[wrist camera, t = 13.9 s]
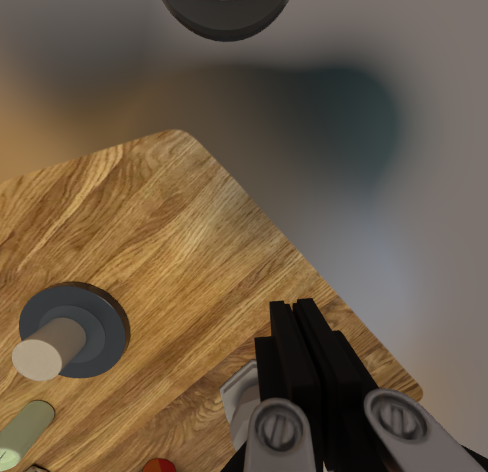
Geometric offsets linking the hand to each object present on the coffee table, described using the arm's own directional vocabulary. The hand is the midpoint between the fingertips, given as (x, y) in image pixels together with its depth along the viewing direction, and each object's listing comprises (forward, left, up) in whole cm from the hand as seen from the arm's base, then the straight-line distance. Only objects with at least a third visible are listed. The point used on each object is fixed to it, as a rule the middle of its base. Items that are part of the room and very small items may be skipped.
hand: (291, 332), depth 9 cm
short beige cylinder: (+14, -30, -24) cm, 41 cm away
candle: (+29, -40, -26) cm, 56 cm away
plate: (+14, -29, -26) cm, 41 cm away
